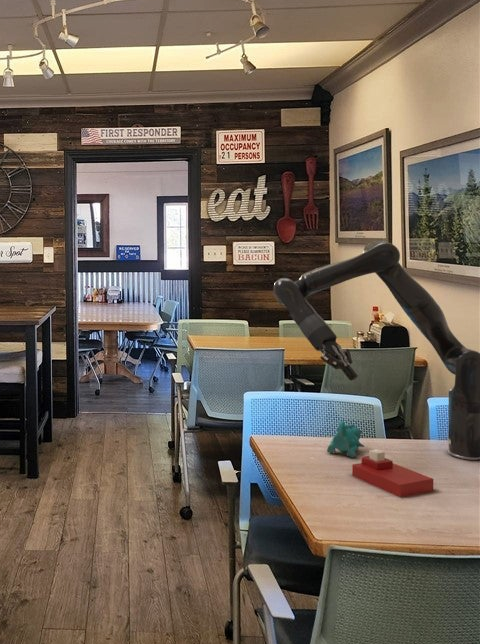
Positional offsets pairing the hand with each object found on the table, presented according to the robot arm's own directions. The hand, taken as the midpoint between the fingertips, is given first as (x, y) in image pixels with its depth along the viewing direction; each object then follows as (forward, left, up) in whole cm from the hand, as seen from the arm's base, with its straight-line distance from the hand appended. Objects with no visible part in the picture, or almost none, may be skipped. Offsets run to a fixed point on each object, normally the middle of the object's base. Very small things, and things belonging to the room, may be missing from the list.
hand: (354, 378), depth 179 cm
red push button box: (0, +13, -26) cm, 29 cm away
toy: (-8, -12, -26) cm, 30 cm away
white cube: (0, +8, -21) cm, 23 cm away
